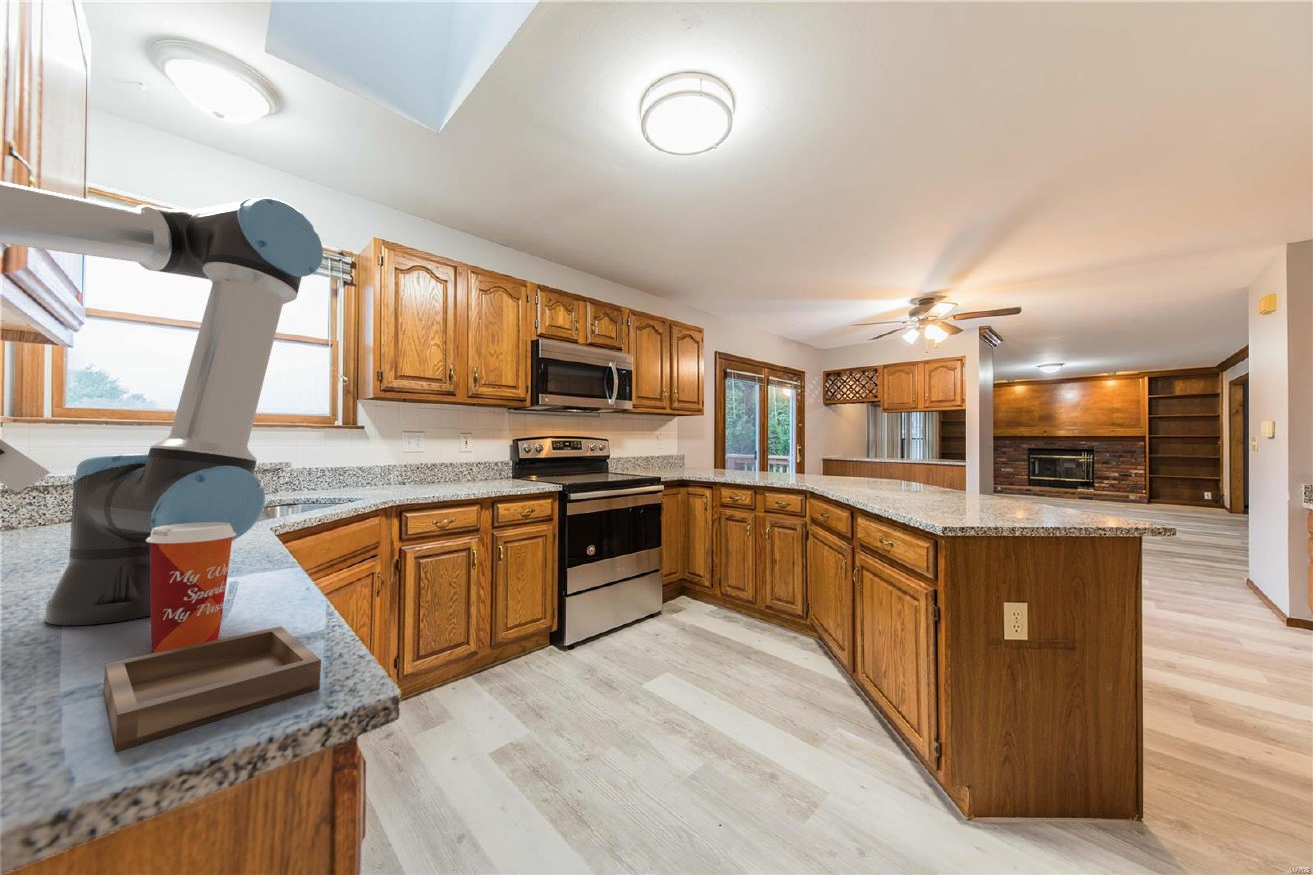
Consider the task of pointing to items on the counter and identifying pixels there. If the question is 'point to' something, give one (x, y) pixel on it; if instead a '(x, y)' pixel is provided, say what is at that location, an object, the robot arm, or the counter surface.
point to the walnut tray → (204, 683)
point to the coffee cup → (188, 582)
